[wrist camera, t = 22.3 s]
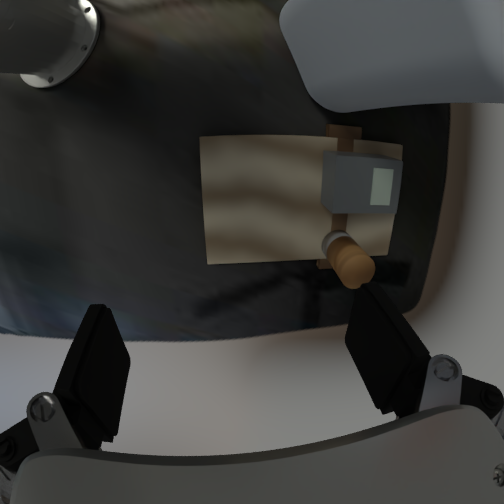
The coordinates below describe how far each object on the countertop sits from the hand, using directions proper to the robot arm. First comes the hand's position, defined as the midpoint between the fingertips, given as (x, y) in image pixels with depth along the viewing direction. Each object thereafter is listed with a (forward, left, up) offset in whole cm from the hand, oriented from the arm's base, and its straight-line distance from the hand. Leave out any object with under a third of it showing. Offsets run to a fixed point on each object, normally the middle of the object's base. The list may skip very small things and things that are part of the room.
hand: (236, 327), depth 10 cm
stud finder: (-1, +14, -23) cm, 27 cm away
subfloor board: (+2, +9, -24) cm, 26 cm away
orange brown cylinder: (+8, +13, -23) cm, 27 cm away
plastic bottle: (-17, +14, -24) cm, 33 cm away
